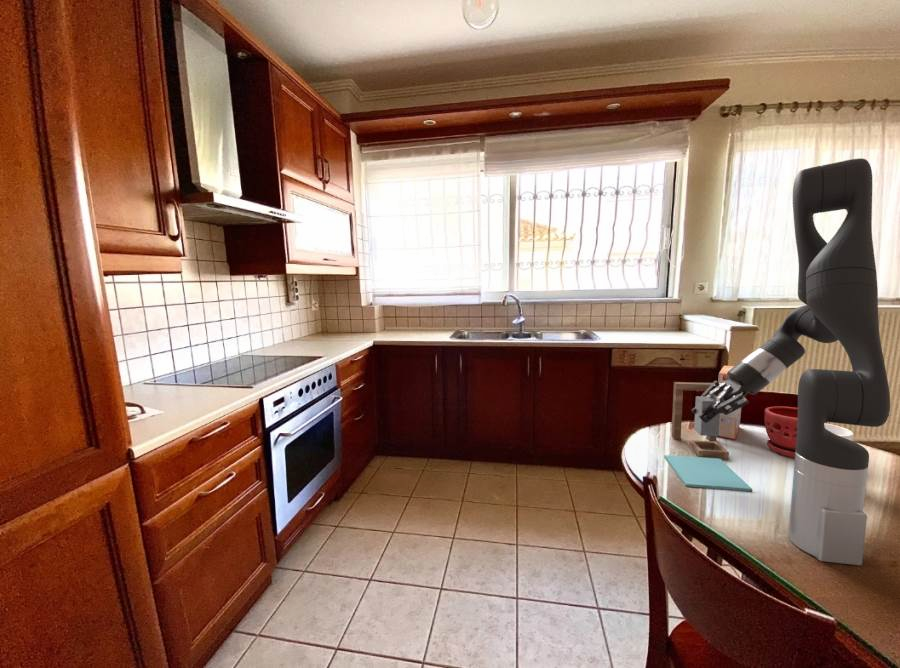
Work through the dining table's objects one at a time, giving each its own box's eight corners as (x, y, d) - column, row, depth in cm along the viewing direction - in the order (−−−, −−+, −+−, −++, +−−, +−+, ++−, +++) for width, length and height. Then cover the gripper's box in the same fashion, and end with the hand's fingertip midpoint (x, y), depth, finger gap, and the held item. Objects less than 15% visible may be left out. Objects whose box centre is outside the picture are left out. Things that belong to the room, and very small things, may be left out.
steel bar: (718, 436, 94) (720, 401, 93) (700, 435, 95) (702, 401, 94) (711, 430, 98) (713, 396, 97) (694, 429, 99) (695, 396, 98)
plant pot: (829, 453, 106) (833, 412, 105) (816, 467, 99) (820, 423, 98) (770, 439, 117) (773, 401, 116) (755, 450, 110) (758, 410, 108)
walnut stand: (737, 459, 104) (742, 396, 102) (689, 456, 107) (692, 395, 105) (713, 438, 119) (716, 383, 116) (671, 436, 121) (673, 382, 119)
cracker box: (737, 440, 117) (741, 374, 114) (713, 436, 121) (717, 372, 118) (741, 427, 127) (745, 366, 124) (719, 423, 131) (722, 364, 128)
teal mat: (751, 491, 89) (752, 488, 89) (685, 486, 92) (685, 483, 92) (719, 460, 104) (719, 458, 104) (664, 457, 107) (664, 455, 107)
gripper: (729, 355, 100) (676, 398, 104) (760, 366, 86) (698, 416, 90) (751, 375, 99) (697, 417, 103) (786, 390, 85) (722, 438, 90)
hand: (698, 416), depth 97 cm, fingers closed on steel bar, 4 cm apart
